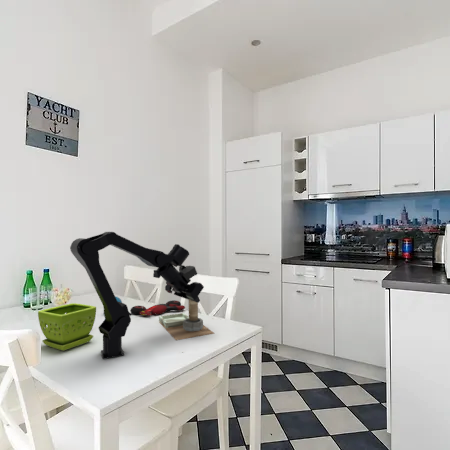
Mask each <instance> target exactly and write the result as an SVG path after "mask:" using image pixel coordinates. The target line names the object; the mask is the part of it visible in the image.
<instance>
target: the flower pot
mask: <svg viewBox="0 0 450 450" xmlns="http://www.w3.org/2000/svg"><path fill="white" fill-rule="evenodd" d="M96 315H97V306H94V305H90V304H85V303H84V304H83V303H76V302H74V303H73V302H72V303H67V304H63V305H62V304H61V305H58V306H55V307H54V306H53V307H49V308H45V309H42V310H41V309H40V310H38V312H37V316H38V322H39V323H38V324H39V327H40V329H41V331H42V333H43V335H44V337H45V339H42V340H41V342H42V343H43V344H44V345H46V346H48V347H50V348H53V349H56V350H59V351H60V350H61V351H67V350H70V349H73V348H75V347H78V346H81V345H84V344H87V343H89V342H90V341H92V339H93V338H94V335H93V334H90V333H91V331H92V330H91V329H93V327H94V324H95V320H96ZM84 322H85V323H84ZM83 323H84V324H83Z"/></svg>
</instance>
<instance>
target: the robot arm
mask: <svg viewBox="0 0 450 450" xmlns="http://www.w3.org/2000/svg"><path fill="white" fill-rule="evenodd" d="M109 246H112V247H114V248H116V249H118V250H120V251H122V252H125V253H127V254H130V255H132V256H135V257H136V258H138V260H140V261H141V262H142V263H144V264H145V265H146V266H148V267H154V268H157V269H154V270H153V275H152V277H153V278H156V279H160V277H161V279H163V280H164V281H165V284H166V285H165V287H164V288H165V289H164V290H165V291H166V292H167V293H169V294H170V295H171V294H173V295H175V296H176V297H179V298H183V299H185V300H188V301H189V299H190V300H192V301H195V302H198V304H199V303H200V301H201V300H200V297H199V295H200V294H201V292H202V291H203V290H204V288H205V286H204V285H203V284H202V283H201V282H197V281H191V278H192V279H193V277H195V276H197V275H198V270H197V269H196V266H194V265H186V266H185V265H184V263H185V261H186V259H187V258H188V257H189V256H190V252H189V251H188V250H187V249H186V248H184V247H183V246H180V244H176V243H175V244H174V245H173V246H172V248H171V250H170V251H169V252H168V253H165V252H164V251H160V250H158V249H152V248H147V247H145V246H142V245H141V244H138V243H136V242H134V241H132V240H130V239H128V238H125V237H123V236H121V235H119V234H117V233H116V232H114V231H104V232H103V233H100V234H98V235H97V234H96V235H93V236H90V237H87V238H76V239H75V240H73V241H72V242H71V245H70V246H69V248H70V252H71V254H72V256H74V258H75V259H76V260H77V262H79V264H80V265H82V266H83V268H84V269H85V271H86V274H87V276H88V277H89V280H90V281H91V282H90V283H92V285H93V288H94V289H95V292H96V293H97V295H98V297H99V301H100V302H101V304H102V305H103V307H102V308H103V316H104V320H103V321H102V322H101V324H100V325H99V326H98V330H99V334H102V350H100V353H101V358H102V359H103V360H105V359H111V358H115V357H116V358H117V357H122V356H124V355H125V352H124V349H123V341H122V340H123V339H122V338H123V337H125V335H126V333H127V330H128V328H129V326H130V324H131V321H132V318H131V316H132V313H131V312H130V311H129V308H128V305H127V304H126V303H124V302H122V303H121V302H118V301H117V299H116V297H117V296H116V294H115V293H114V290H113V289H112V287H111V284H110V283H109V281H108V279H107V276H106V274H105V273H104V270H103V268H102V266H101V263H100V253H99V252H100V251H101V250H103V249H106V248H107V247H109ZM176 267H178V269H177V268H176ZM173 292H174V293H173ZM115 296H116V297H115Z"/></svg>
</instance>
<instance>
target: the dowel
mask: <svg viewBox="0 0 450 450" xmlns="http://www.w3.org/2000/svg"><path fill="white" fill-rule="evenodd" d="M188 317H189V320H190V321H196V320H198V318H199V303H198V302H195V301H192V300H190V299H189V300H188Z"/></svg>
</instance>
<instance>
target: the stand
mask: <svg viewBox="0 0 450 450" xmlns="http://www.w3.org/2000/svg"><path fill="white" fill-rule="evenodd" d="M158 322H159V324H160V325H161V326H162V327H163V328H164V330H165V331H167V332H168V334H169V335H170V336H171V337H172V338H173V339H174V340H175V341H180V340H185V339H186V340H187V339H192V338H198V337H202V336H209V335H214V334H215V332H213V331H212V330H211V329H209V327H207V326H206V325H205V324H204V319H203V318H201V317H198V320H196V321H190V320H189V315H187V314H186V313H185V312H182V313H175V314H166V315H158Z"/></svg>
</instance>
